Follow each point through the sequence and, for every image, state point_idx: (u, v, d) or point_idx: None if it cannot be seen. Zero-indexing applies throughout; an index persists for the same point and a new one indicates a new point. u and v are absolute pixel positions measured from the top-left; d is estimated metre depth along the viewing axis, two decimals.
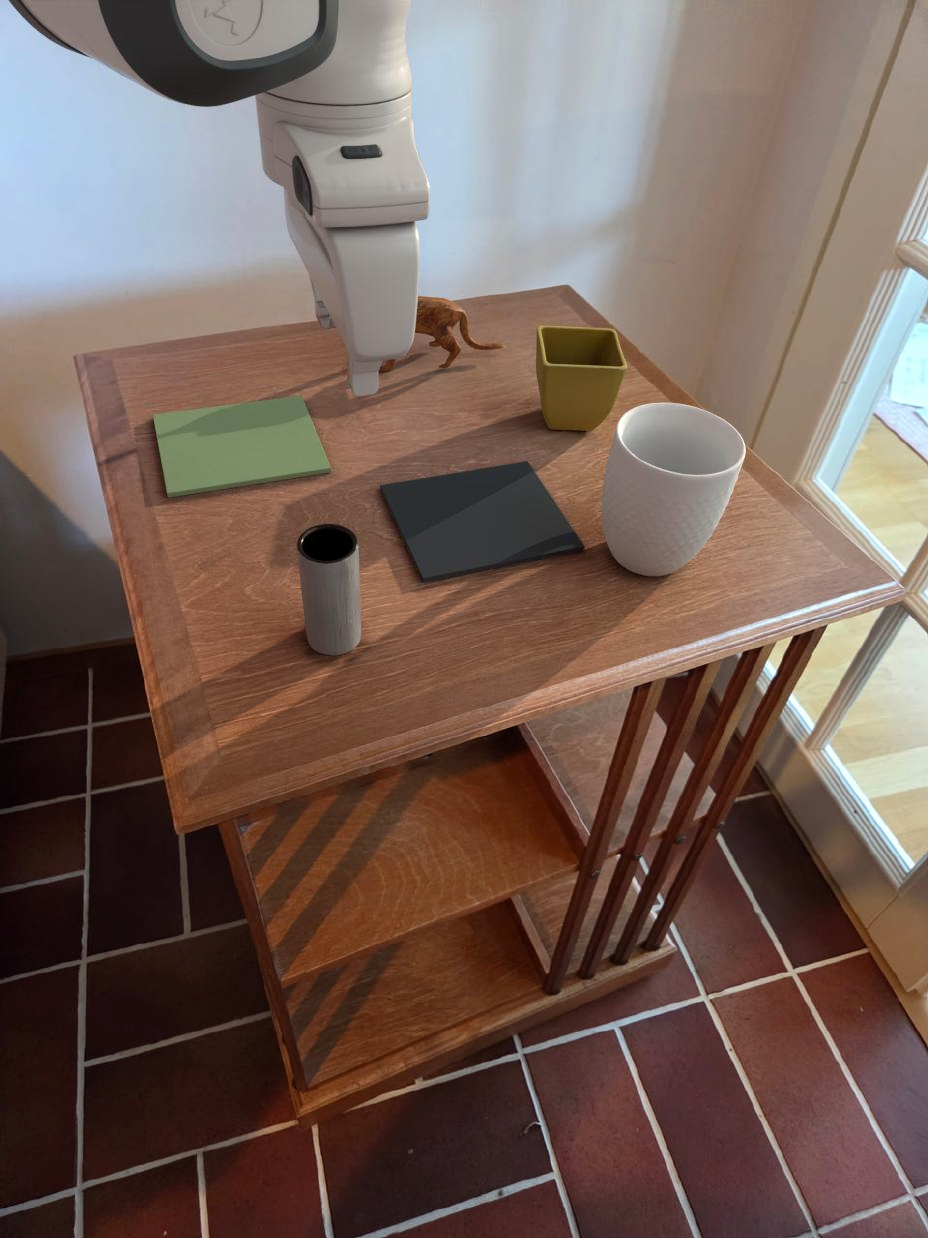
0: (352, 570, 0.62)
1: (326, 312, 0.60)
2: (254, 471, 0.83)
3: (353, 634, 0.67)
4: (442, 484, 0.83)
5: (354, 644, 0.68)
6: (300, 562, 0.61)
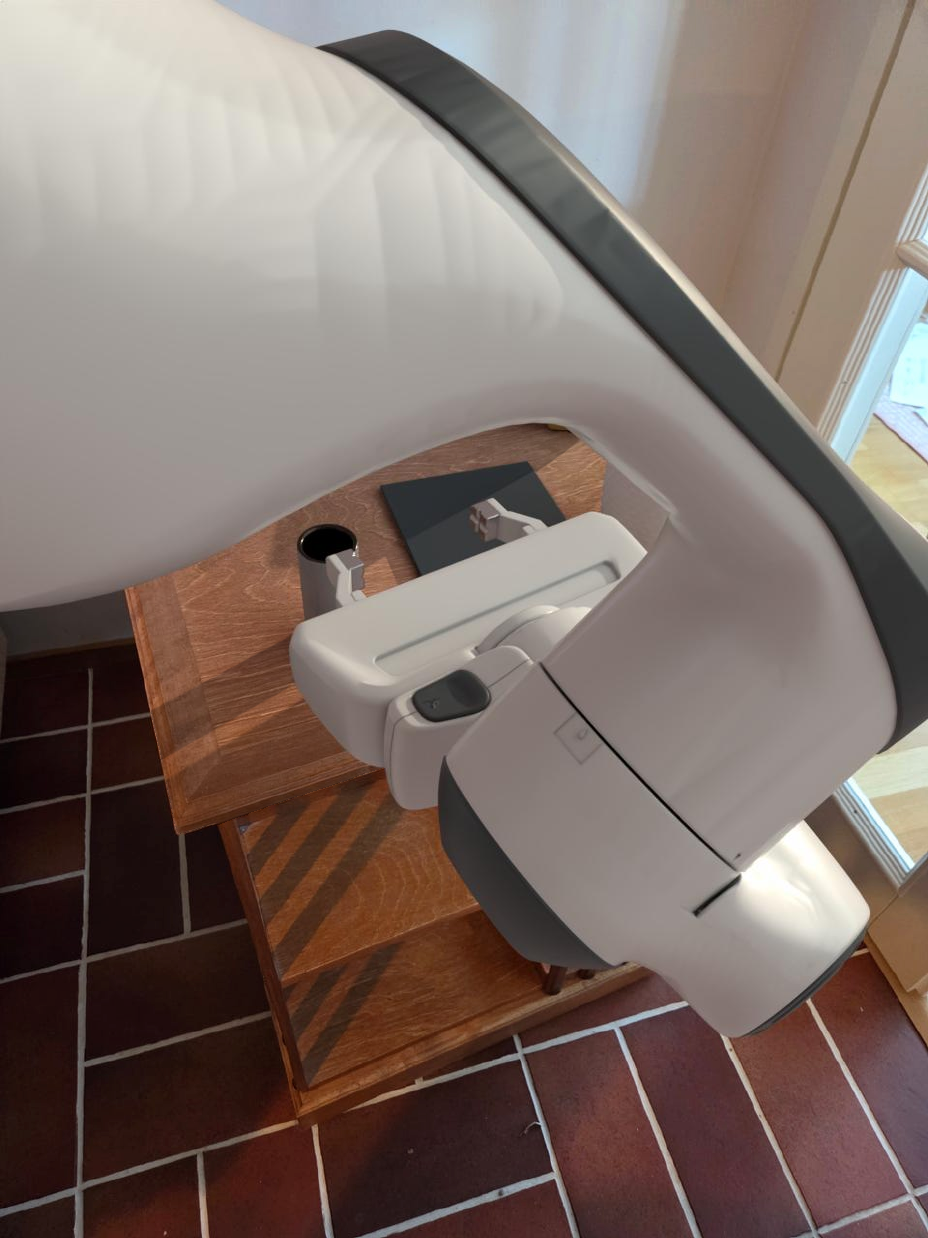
0: None
1: (481, 521, 0.49)
2: None
3: None
4: (442, 484, 0.83)
5: None
6: (300, 562, 0.61)
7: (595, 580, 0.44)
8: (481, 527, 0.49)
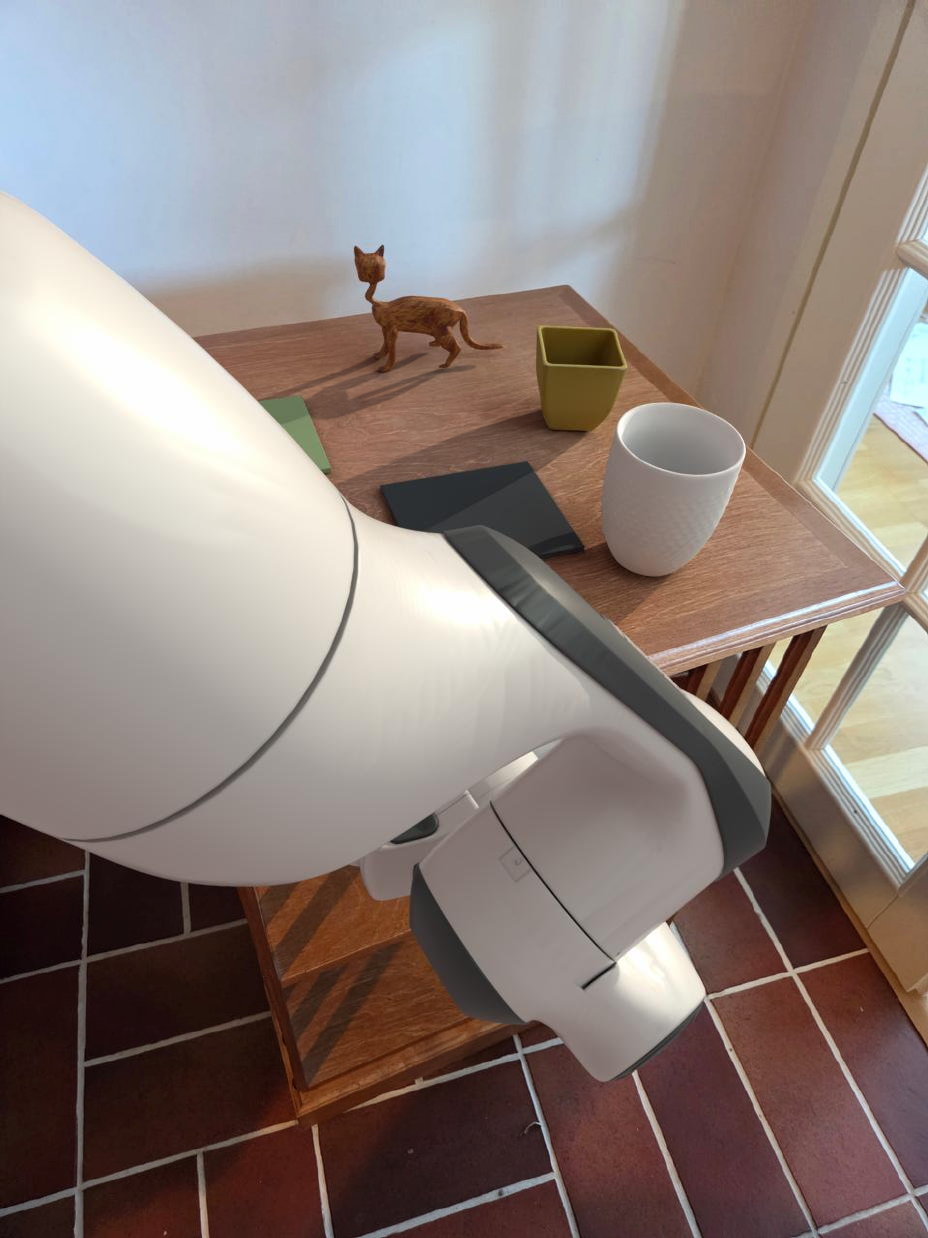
0: None
1: None
2: None
3: None
4: (442, 484, 0.83)
5: None
6: None
7: None
8: None
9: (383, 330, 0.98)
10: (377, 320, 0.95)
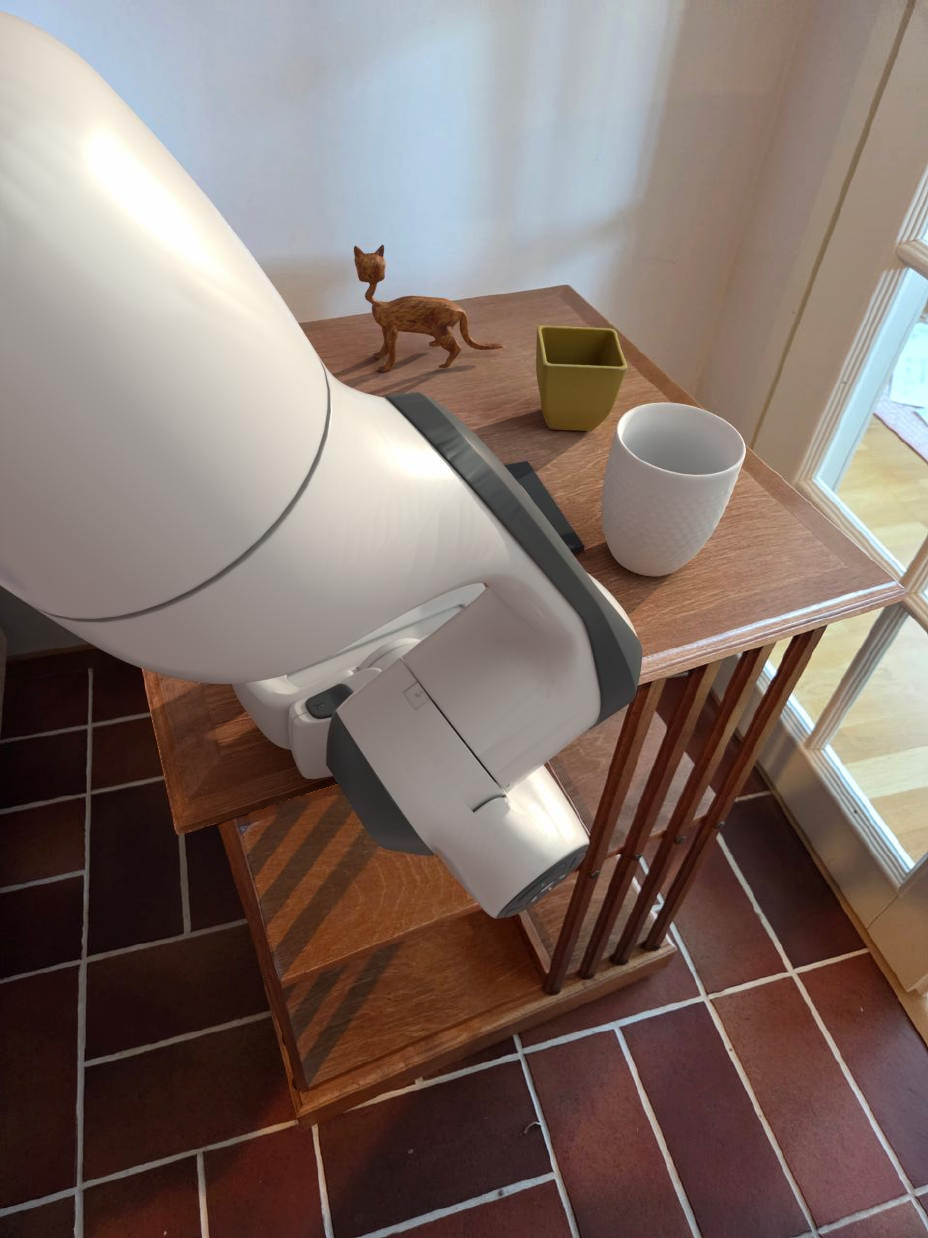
0: None
1: None
2: None
3: None
4: None
5: None
6: None
7: (451, 618, 0.62)
8: None
9: (383, 330, 0.98)
10: (377, 320, 0.95)
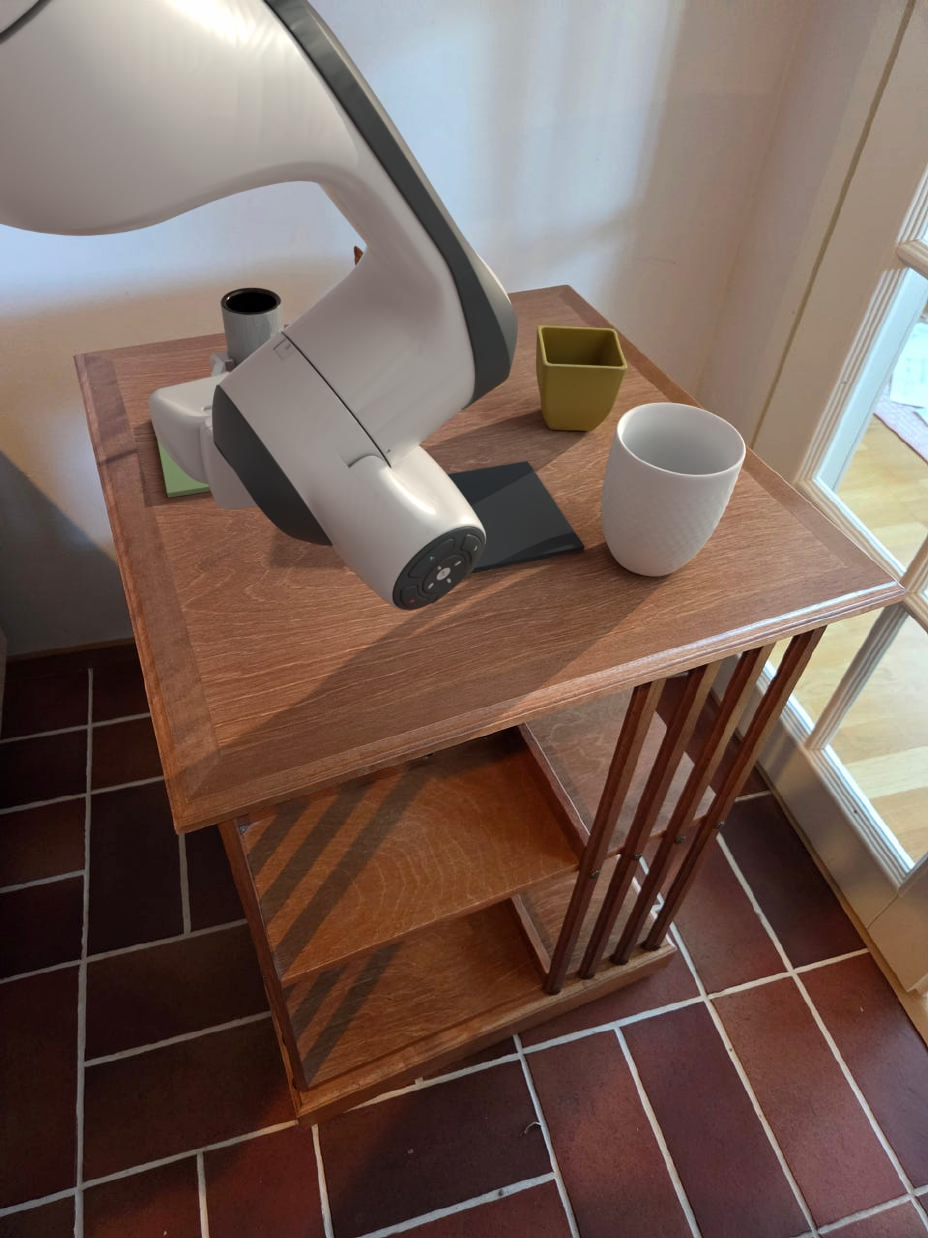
0: (275, 329, 0.64)
1: None
2: None
3: None
4: None
5: None
6: (224, 318, 0.63)
7: None
8: None
9: None
10: None
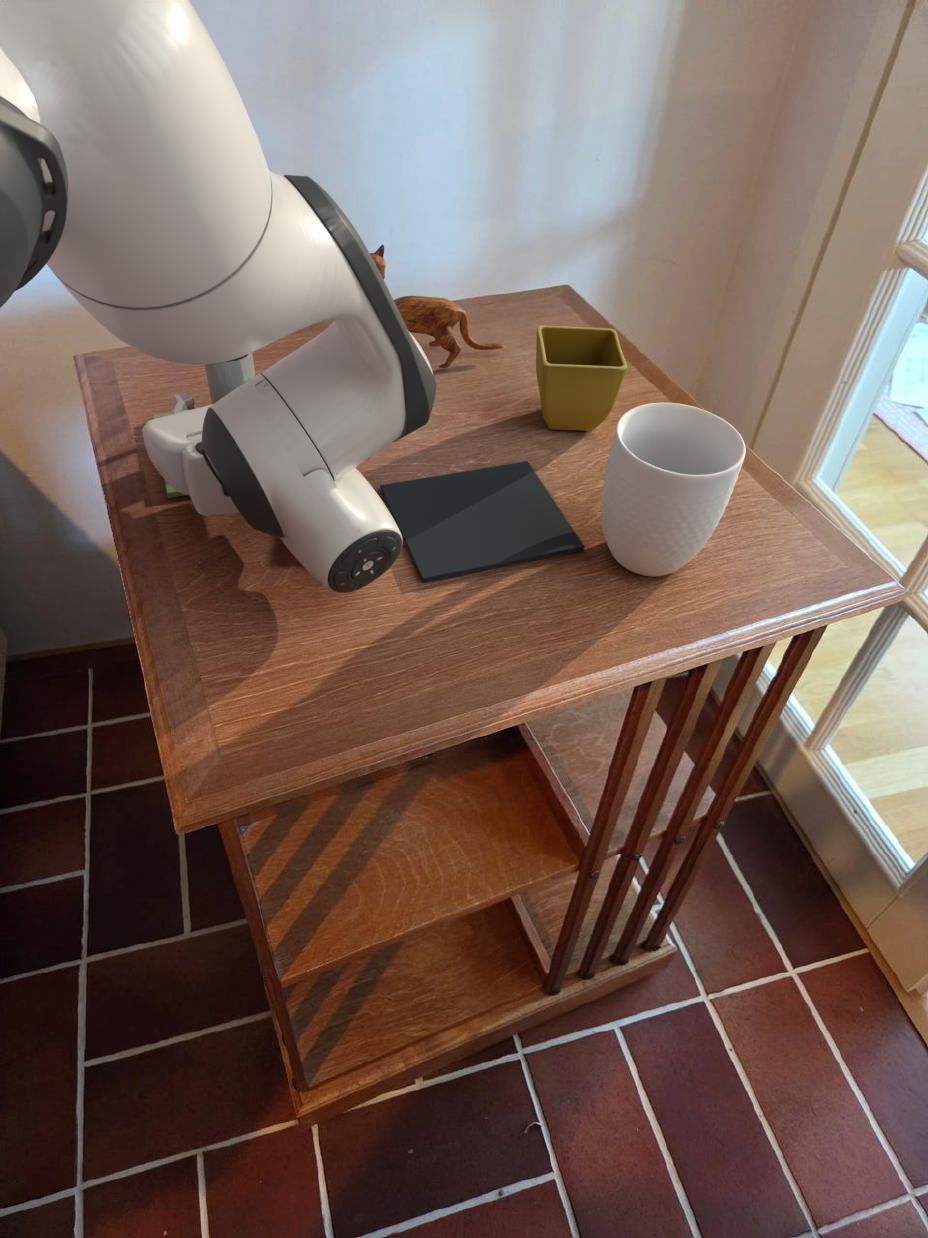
0: (247, 372, 0.79)
1: None
2: None
3: None
4: (442, 484, 0.83)
5: None
6: (205, 364, 0.79)
7: None
8: None
9: None
10: None
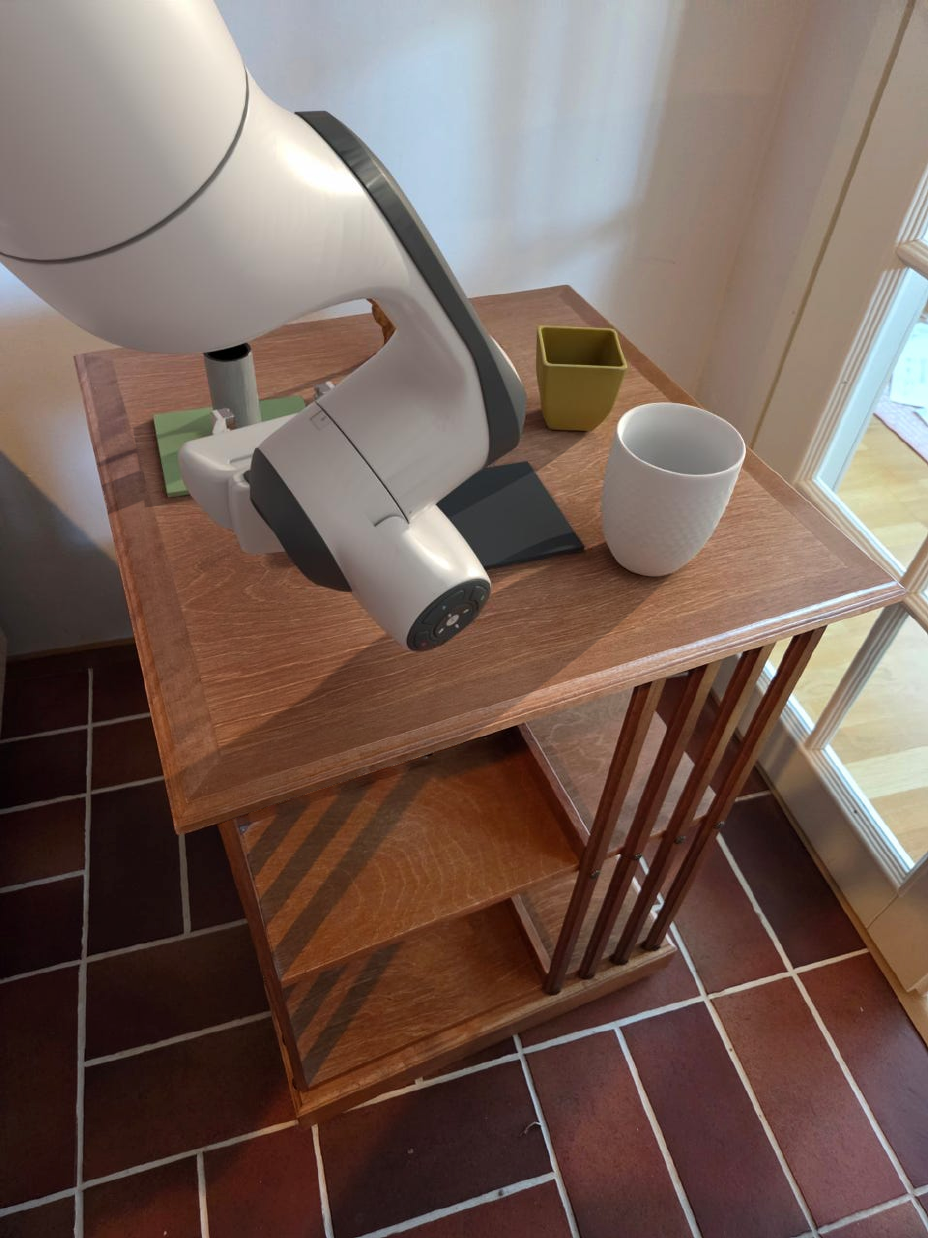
0: (247, 372, 0.79)
1: (320, 395, 0.73)
2: None
3: None
4: None
5: None
6: (205, 364, 0.79)
7: None
8: None
9: (383, 330, 0.98)
10: (377, 320, 0.95)
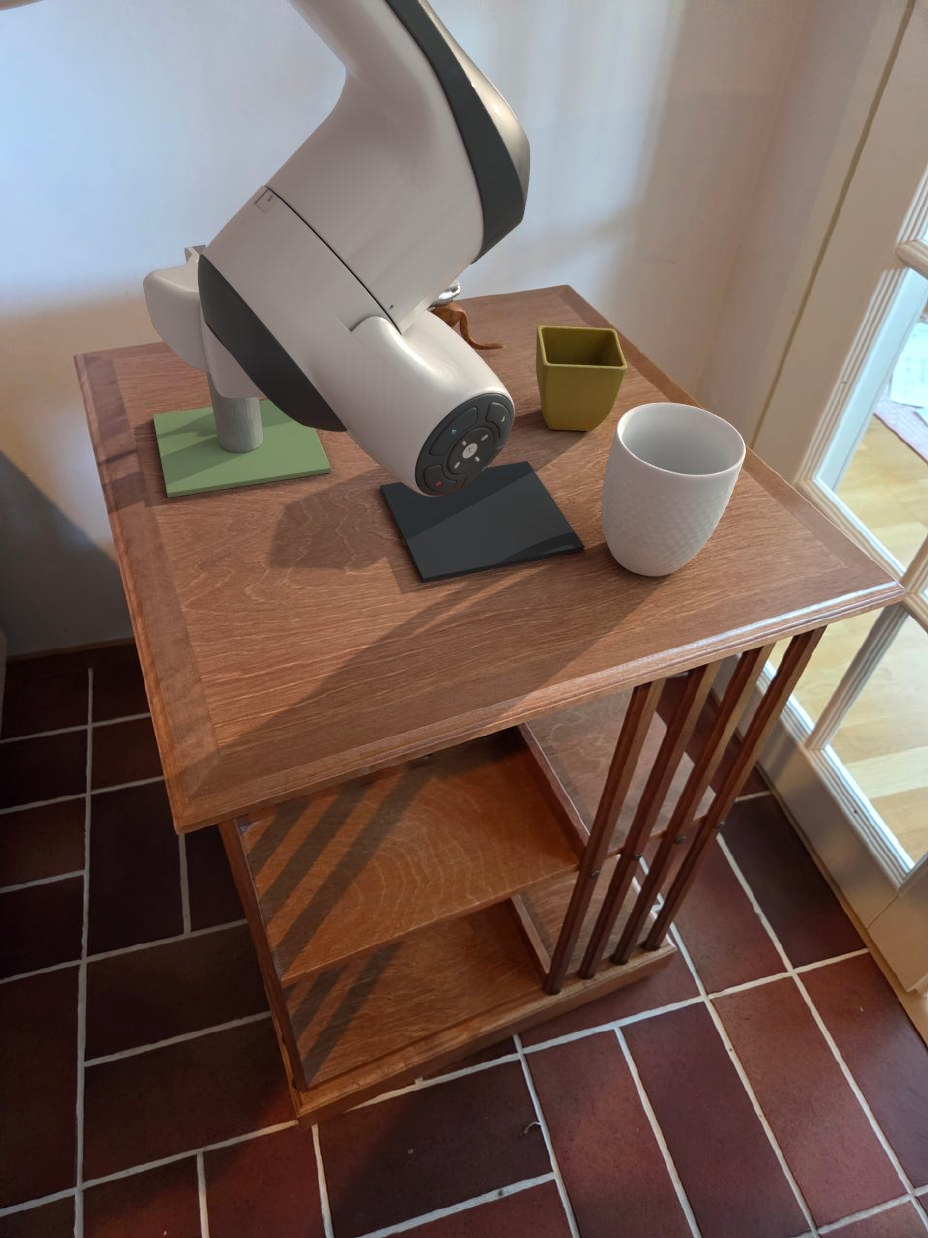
0: None
1: None
2: (254, 471, 0.83)
3: (253, 434, 0.84)
4: None
5: (256, 444, 0.85)
6: None
7: None
8: None
9: None
10: None
